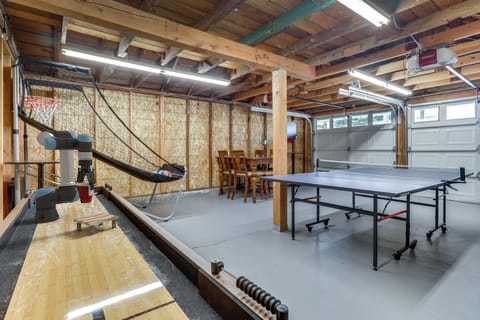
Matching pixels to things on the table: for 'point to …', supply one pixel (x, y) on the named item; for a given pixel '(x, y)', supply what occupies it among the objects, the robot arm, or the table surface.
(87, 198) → the plastic cup
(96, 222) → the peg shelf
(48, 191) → the robot arm
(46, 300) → the table surface
